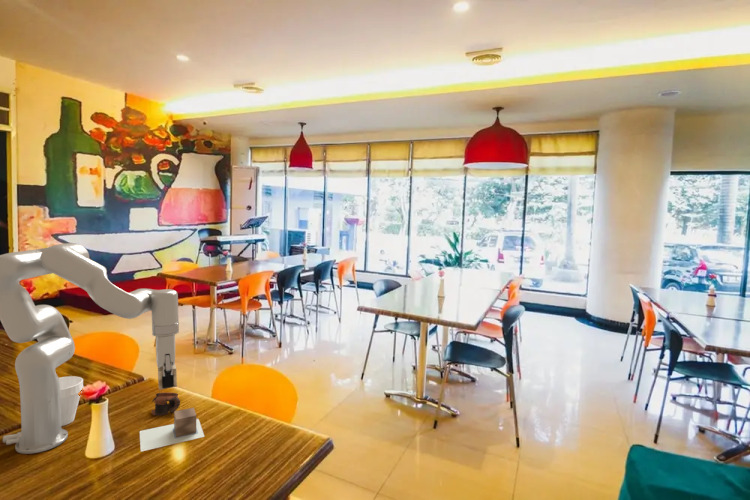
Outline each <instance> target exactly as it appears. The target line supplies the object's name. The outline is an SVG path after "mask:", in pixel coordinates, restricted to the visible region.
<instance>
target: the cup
mask: <svg viewBox="0 0 750 500" xmlns="http://www.w3.org/2000/svg"><path fill="white" fill-rule="evenodd" d="M58 378H59V381H60V396H61V427H64V426H67V425H69V424H71V423H73V422H74V421H75V417H76V414H77V409H78V407H79V401H80V399H81V395H80V396H79V395H78V393H79V392H80V391H81V390H82V388H83V389H84V378H82V377H81V376H75V375H74V376H72V375H71V376H70V375H69V376H62V377H58ZM82 391H83V390H82ZM82 391H81V392H82Z"/></svg>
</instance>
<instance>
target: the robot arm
mask: <svg viewBox="0 0 750 500" xmlns="http://www.w3.org/2000/svg"><path fill="white" fill-rule="evenodd" d="M107 273H108V270H107V267H106V266H104V265H102V264H100V263H98V262H96V261H94V260H92V259H91V258H90V253H89V251H88V250H87V249H86V247H84V246H83V245H81V244H79V243H77V242H74V243H73V242H69V243H67V242H66V243H62V244H61V243H60V244H53V245H51V246H49V247H43V248H36V249H31V250H30V249H29V250H22V251H21V250H20V251H14V252H13V251H12V252H7V253H4V254H0V322H1V324H2V327H3V328H4V331H5V333H6V335H7V337H8V338H9V339H10V340H11V341H12V342H14V343H18V344H23V343H27V342H31V341H33V340H37V342H36V343H33V344H32V345H29V346H27V347H25V348H24V349H23V350H22V351H21V352H20V353H18V355H17V356H16V359H15V363H14V369H15V372H16V375H17V379H18V385H19V397H20V421H21V422H20V423H21V424H20V425H21V431H18V432H17V433H13V434H7V435H4V436H2V443H3V444H4V443H5V445H6V446H9V445H13V444H15V446H14V447H15V451H16V453H19V454H24V455H28V454H29V455H30V454H31V455H32V454H37V453H43V452H46V451H48V450H51V449H53V448H56V447H58V446H60V445H61V444H62V443H64V442H65V441H66V440H67V439H68V437H69V434H68V433H69V432H68V430H66V429H64V428H62V426H61V396H60V381H59V378H60V377H59V376H58V374H57V373H56V369H57V368H58V367H59V366H61V365H62V364H65V363H66V362H67V361H69V360H70V359H72V357H73V355H74V354H75V350H76V346H75V341H74V339H73V337H72V335H71V332H70V329H69V328H68V325H67V323H66V320H65V319H64V317H63V315H62V313H61V312H60V311H59V310H58V309H57V308H55V306H52V305H49V304H37V305H35V302H34V301H33V298H32V296H31V294H30V293H29V291H28V290H27V289H26V288H25V287H24V286H22V285H21V284H20V282H21V281H22V280H28V279H31V278H35V277H40V276H45V275H51V274H54V275H56V276H58V277H59V278H61V279H64V280H65V281H67V282H68V283H71V284H73V285H75V286H77V287H79V288H81V289H82V290H84V291H85V292H87V295H88V296H89V298H91V299H92V301H93V302H94V303H95V304H96V305H98V306H99V307H100V308H102V309H104V310H105V311H107V312H108V313H111V314H113V315H114V316H118V317H120V318H123V319H129V320H132V319H135V318H138V317H140V316H141V315H143V314H145V313H148V312H150V311H151V334H152V336H153V337H155V352H156V353H155V354H156V358H155V359H156V365H157V366H156V367H157V369H158V368H160V367H162V366H163V367H162V368H163V376H162V388H167V389H170V388H169V387H173V386H174V375H173V368H172V366H173V365H174V364H175V365H176V335H177V334H179V332H180V323H179V297H178V296H179V294H178V291H176V290H174V289H171V288H170V289H169V288H168V289H167V288H166V289H152V288H137V289H135V290H133V291H130V292H127V291H125V290H123V289H122V288H119V287H118V286H116V285H115V284H113V283H112V282H111V280H109V278H108V275H107ZM170 364H171V365H170ZM164 365H166V366H164ZM165 368H166V369H165ZM173 388H174V387H173Z"/></svg>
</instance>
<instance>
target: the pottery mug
mask: <svg viewBox="0 0 750 500" xmlns="http://www.w3.org/2000/svg"><path fill="white" fill-rule="evenodd" d="M178 395H179V393H177V392H157V393H155V397H154V398H153V399H152V400H151V402H152V403H154V405H155V406H154V409H152V410H151V415H153V416H159V417H160V416H166V415H168V414H169V413H171V414H174V411H177V409H178V408H179V407H180V406H181V400H180V398H179V396H178Z"/></svg>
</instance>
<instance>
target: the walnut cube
mask: <svg viewBox="0 0 750 500" xmlns="http://www.w3.org/2000/svg"><path fill="white" fill-rule="evenodd" d="M173 415H174V416H173V417H174V418H173V419H174V421H173V422H174V423H173V424H174V429H175V434H176V437H180V436H185V435H189V434H193V433H196V419H197V413H196V410H195V407H190V408H186V409H180V410H175V411H174V412H173Z"/></svg>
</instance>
